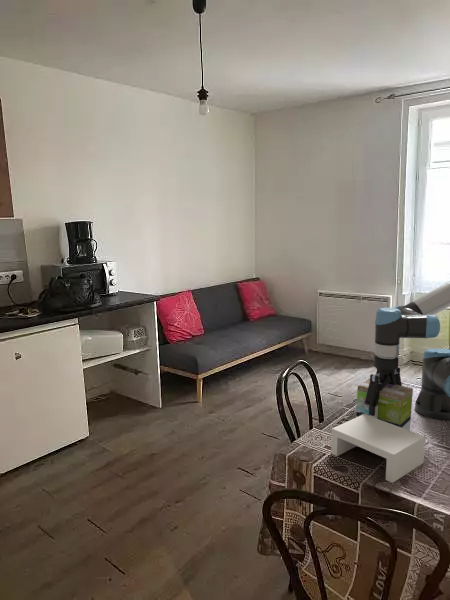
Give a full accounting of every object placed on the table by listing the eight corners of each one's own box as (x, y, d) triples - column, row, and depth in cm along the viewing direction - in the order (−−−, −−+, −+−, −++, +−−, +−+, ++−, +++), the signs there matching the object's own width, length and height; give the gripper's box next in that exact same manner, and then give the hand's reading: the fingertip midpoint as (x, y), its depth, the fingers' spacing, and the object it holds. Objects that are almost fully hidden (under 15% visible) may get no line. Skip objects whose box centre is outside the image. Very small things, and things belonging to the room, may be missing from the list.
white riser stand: (363, 437, 144) (364, 414, 142) (423, 462, 128) (425, 436, 127) (331, 453, 134) (331, 428, 132) (392, 482, 118) (393, 454, 117)
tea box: (354, 426, 152) (356, 384, 149) (367, 417, 159) (369, 377, 157) (399, 440, 142) (402, 395, 139) (411, 429, 149) (413, 386, 147)
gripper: (395, 347, 156) (392, 406, 160) (354, 359, 142) (352, 425, 146) (416, 351, 151) (412, 413, 154) (375, 365, 136) (372, 433, 140)
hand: (383, 419), depth 150 cm, fingers open, 11 cm apart
